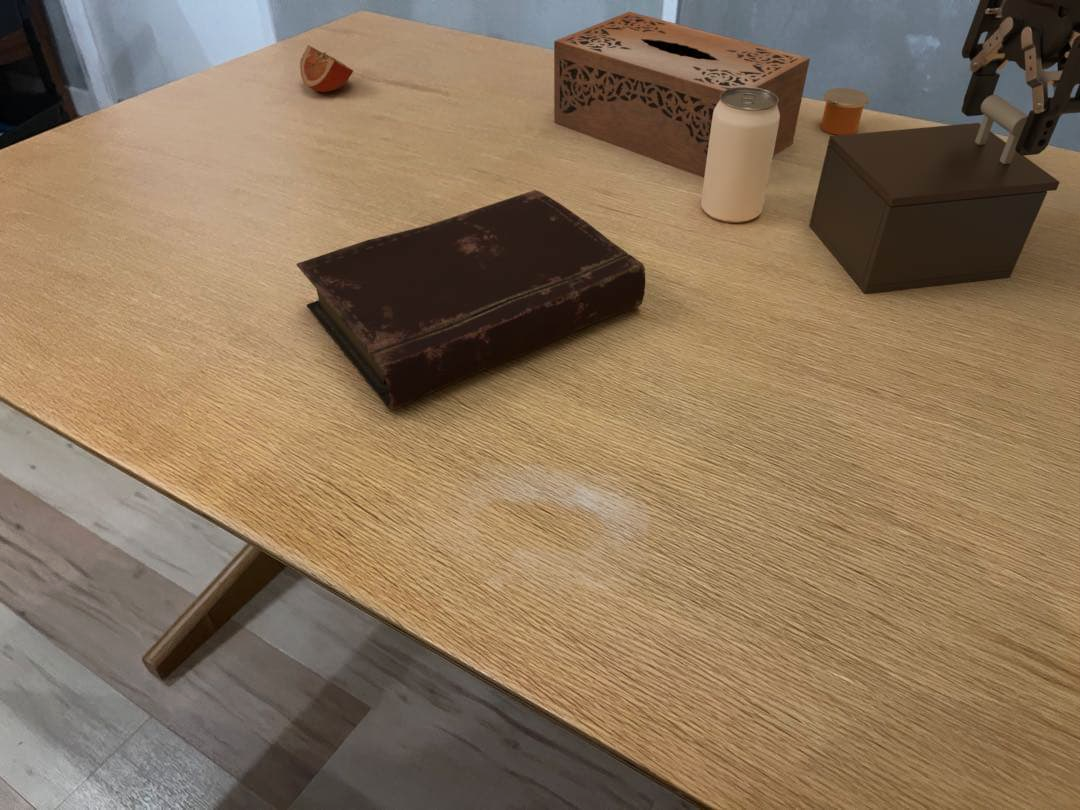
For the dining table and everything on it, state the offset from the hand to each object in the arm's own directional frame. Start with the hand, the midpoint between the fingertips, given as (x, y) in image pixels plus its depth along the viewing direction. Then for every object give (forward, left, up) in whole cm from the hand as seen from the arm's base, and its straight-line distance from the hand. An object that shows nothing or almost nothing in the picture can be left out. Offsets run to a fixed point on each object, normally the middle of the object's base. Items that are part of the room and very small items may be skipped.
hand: (998, 132), depth 74 cm
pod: (-1, -28, -12) cm, 30 cm away
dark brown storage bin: (+5, 0, -12) cm, 13 cm away
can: (+19, -11, -12) cm, 25 cm away
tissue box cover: (+20, -31, -12) cm, 39 cm away
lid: (+5, 0, -3) cm, 6 cm away
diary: (+48, +2, -12) cm, 50 cm away
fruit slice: (+62, -54, -12) cm, 83 cm away
